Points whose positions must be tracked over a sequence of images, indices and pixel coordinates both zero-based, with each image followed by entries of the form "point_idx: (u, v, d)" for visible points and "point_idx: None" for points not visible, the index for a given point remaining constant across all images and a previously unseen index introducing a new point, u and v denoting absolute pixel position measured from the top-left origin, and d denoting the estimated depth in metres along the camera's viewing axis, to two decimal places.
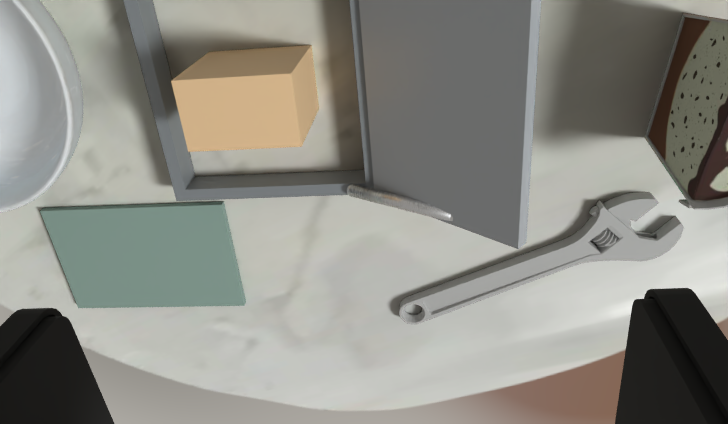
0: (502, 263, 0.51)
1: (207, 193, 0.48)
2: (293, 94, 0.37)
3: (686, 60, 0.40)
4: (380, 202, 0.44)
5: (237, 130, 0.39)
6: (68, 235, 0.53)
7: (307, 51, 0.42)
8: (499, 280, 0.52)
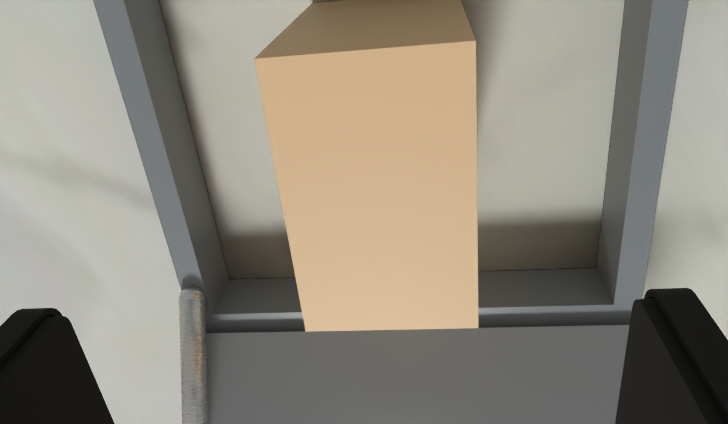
0: None
1: None
2: (429, 327, 0.17)
3: None
4: (184, 374, 0.23)
5: (334, 203, 0.15)
6: None
7: None
8: None
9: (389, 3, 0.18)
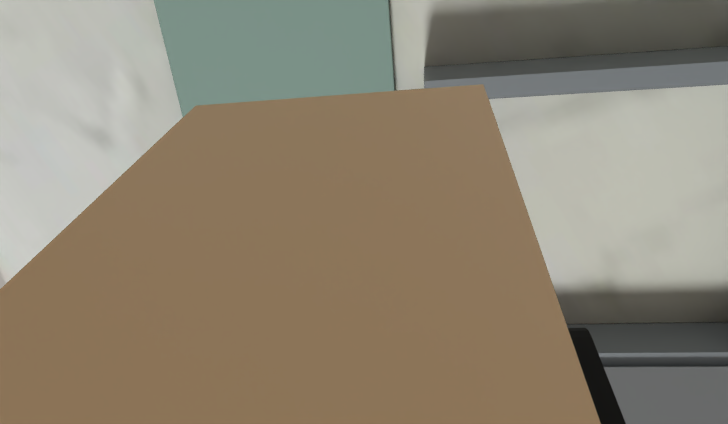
0: None
1: None
2: None
3: None
4: None
5: None
6: None
7: None
8: None
9: (339, 128, 0.08)
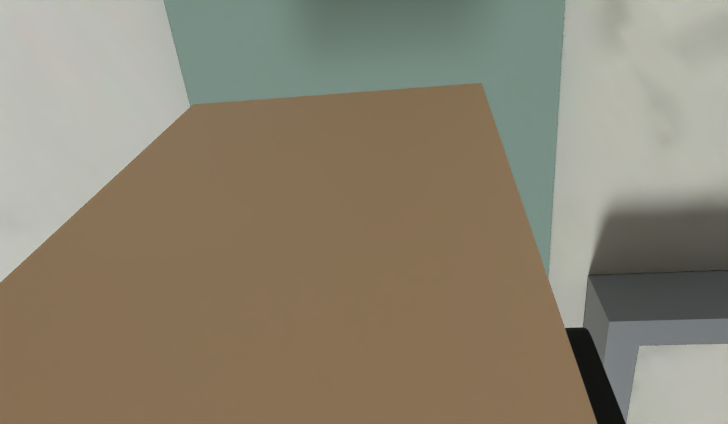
0: None
1: (618, 387, 0.19)
2: None
3: None
4: None
5: None
6: None
7: None
8: None
9: (337, 127, 0.08)
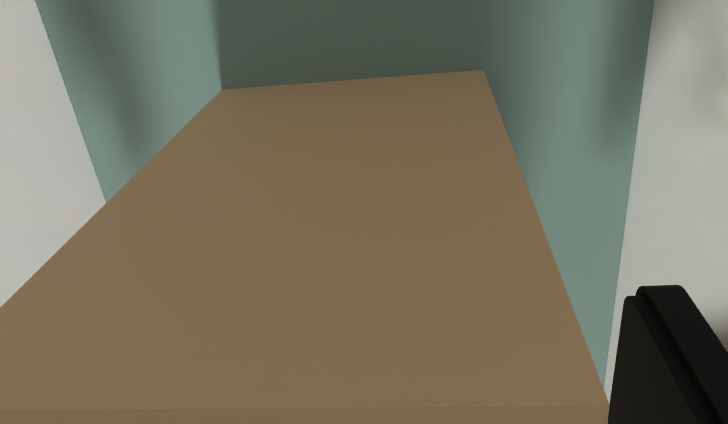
0: None
1: None
2: None
3: None
4: None
5: None
6: None
7: None
8: None
9: (355, 107, 0.09)
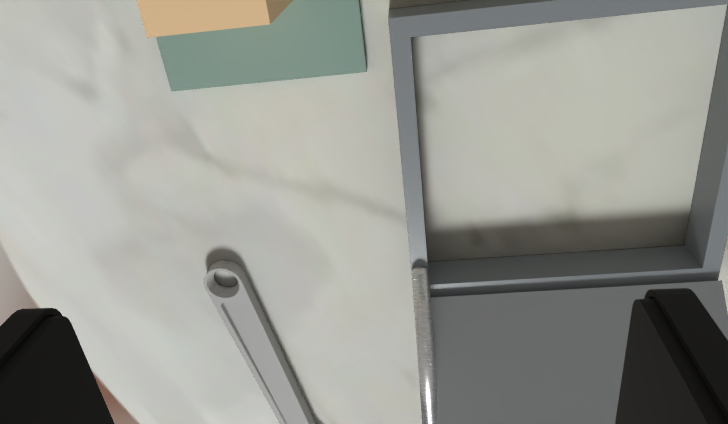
0: (291, 374, 0.43)
1: (405, 74, 0.29)
2: (235, 26, 0.23)
3: None
4: (420, 324, 0.34)
5: None
6: None
7: None
8: (271, 375, 0.42)
9: None
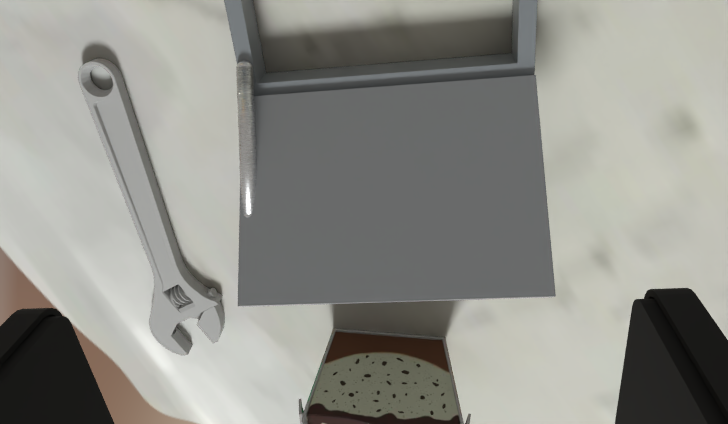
0: (160, 198, 0.44)
1: None
2: None
3: (411, 356, 0.46)
4: (241, 114, 0.35)
5: None
6: None
7: None
8: (139, 193, 0.43)
9: None
